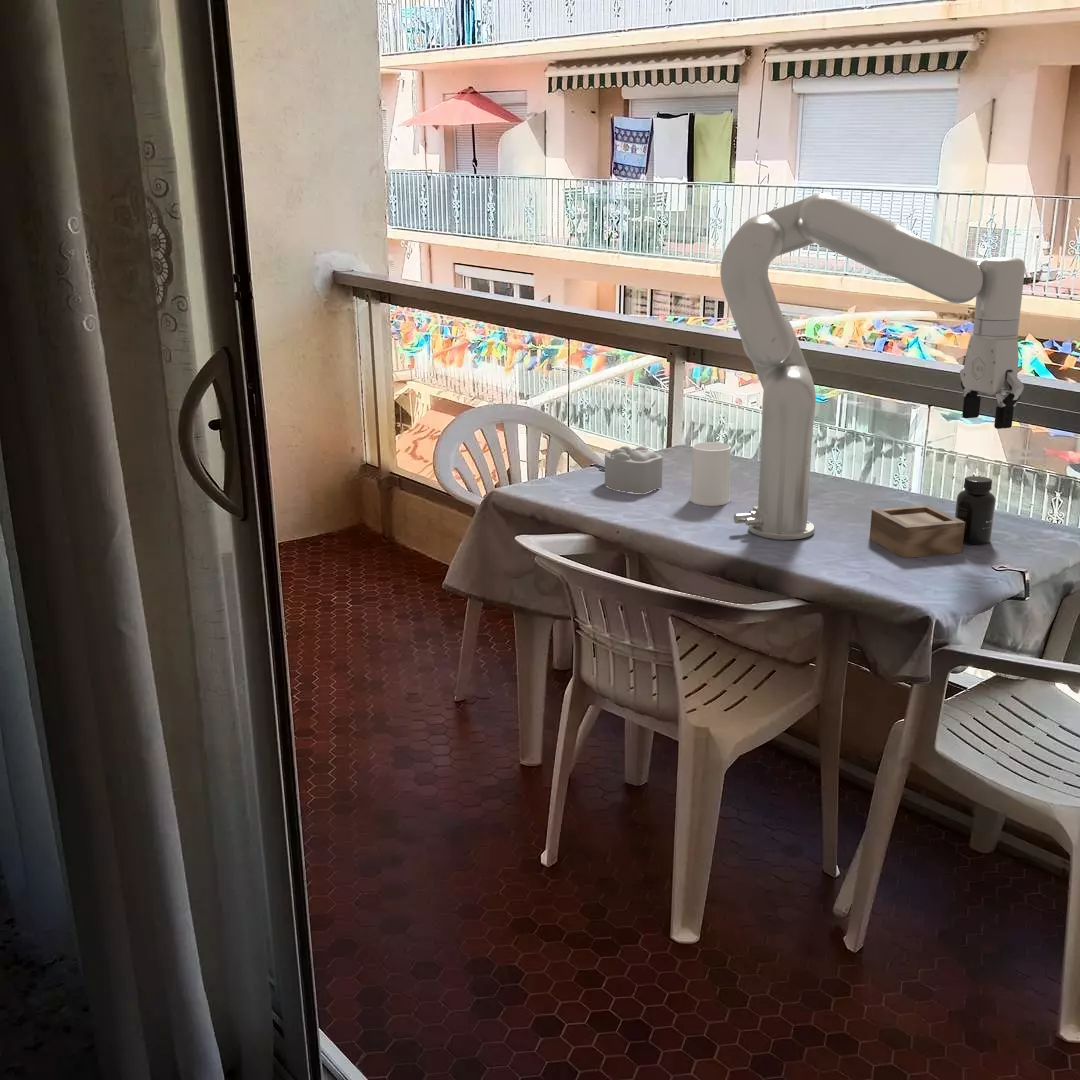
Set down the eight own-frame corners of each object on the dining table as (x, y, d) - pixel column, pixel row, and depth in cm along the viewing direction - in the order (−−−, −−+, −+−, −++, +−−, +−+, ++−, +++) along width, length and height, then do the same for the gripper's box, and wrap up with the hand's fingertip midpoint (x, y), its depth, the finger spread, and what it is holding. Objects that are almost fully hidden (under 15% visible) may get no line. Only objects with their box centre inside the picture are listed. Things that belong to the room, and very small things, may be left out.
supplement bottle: (993, 546, 207) (1001, 484, 203) (955, 544, 208) (961, 482, 205) (987, 535, 214) (994, 474, 210) (949, 533, 215) (956, 473, 211)
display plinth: (903, 558, 201) (906, 527, 200) (869, 538, 213) (871, 509, 211) (961, 552, 204) (965, 522, 202) (925, 533, 215) (928, 504, 213)
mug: (711, 490, 247) (713, 437, 243) (745, 496, 242) (747, 442, 238) (682, 501, 238) (683, 447, 235) (716, 508, 233) (718, 452, 229)
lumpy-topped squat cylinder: (640, 496, 243) (640, 457, 240) (593, 486, 251) (593, 449, 249) (667, 486, 250) (668, 449, 248) (621, 477, 259) (622, 441, 256)
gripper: (949, 324, 206) (941, 415, 211) (1007, 335, 190) (997, 433, 195) (984, 322, 208) (976, 412, 213) (1045, 333, 191) (1034, 430, 197)
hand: (986, 422), depth 204 cm, fingers open, 9 cm apart
